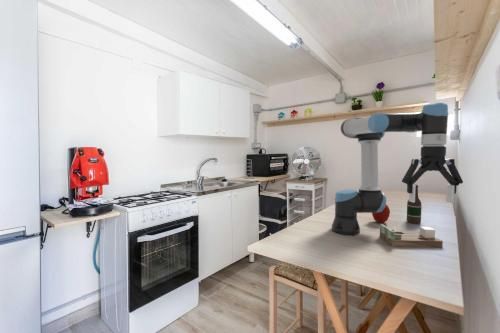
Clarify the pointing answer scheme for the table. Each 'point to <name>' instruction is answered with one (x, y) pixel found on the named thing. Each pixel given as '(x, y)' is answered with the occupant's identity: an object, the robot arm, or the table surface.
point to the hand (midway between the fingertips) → (430, 202)
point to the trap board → (407, 238)
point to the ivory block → (427, 232)
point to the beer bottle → (414, 209)
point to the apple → (382, 215)
